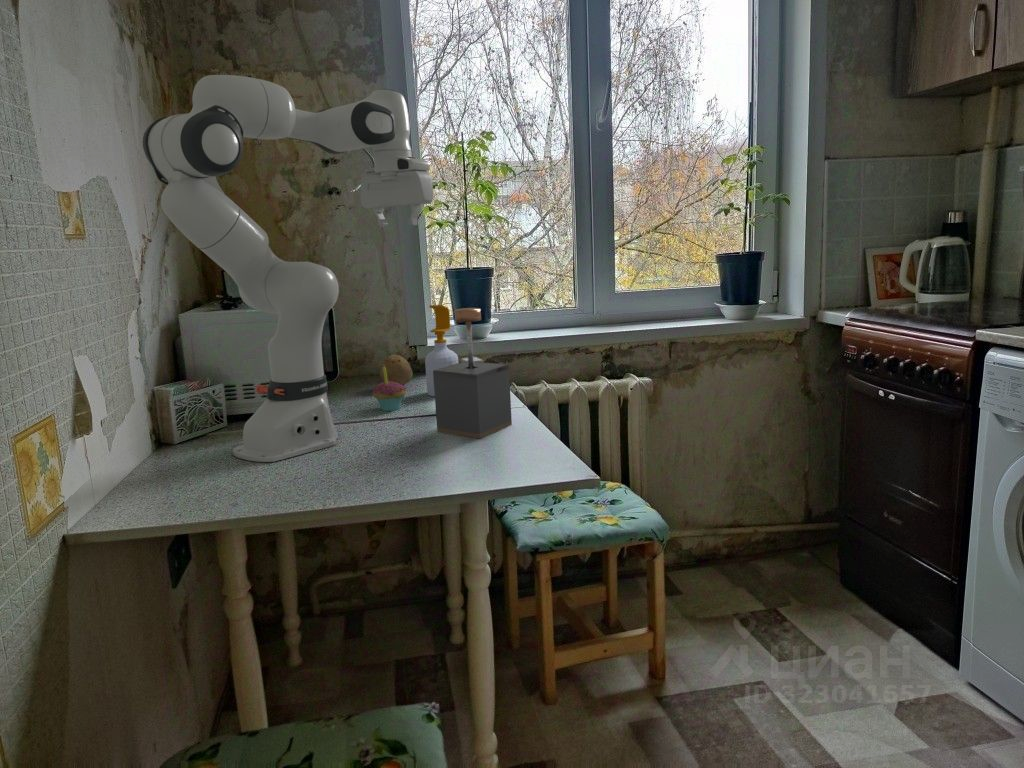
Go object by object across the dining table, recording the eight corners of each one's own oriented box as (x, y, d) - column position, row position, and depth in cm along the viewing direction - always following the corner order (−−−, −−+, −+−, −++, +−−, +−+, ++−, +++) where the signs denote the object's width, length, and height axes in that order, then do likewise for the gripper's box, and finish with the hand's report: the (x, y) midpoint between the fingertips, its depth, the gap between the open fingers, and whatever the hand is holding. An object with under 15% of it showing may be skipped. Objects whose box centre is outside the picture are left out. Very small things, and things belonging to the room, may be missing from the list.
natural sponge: (374, 390, 203) (370, 356, 201) (396, 384, 210) (393, 351, 207) (396, 393, 197) (393, 358, 195) (418, 387, 204) (415, 353, 202)
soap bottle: (422, 396, 192) (415, 306, 187) (435, 389, 200) (429, 302, 195) (453, 397, 189) (446, 306, 184) (465, 390, 198) (459, 302, 192)
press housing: (480, 438, 151) (476, 374, 148) (437, 431, 158) (432, 370, 155) (511, 424, 161) (508, 364, 158) (470, 418, 168) (466, 360, 164)
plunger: (475, 383, 150) (471, 312, 147) (441, 379, 156) (436, 311, 152) (501, 374, 158) (498, 307, 155) (468, 371, 163) (464, 306, 160)
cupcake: (401, 413, 176) (397, 365, 173) (368, 413, 177) (364, 366, 175) (411, 404, 184) (407, 359, 182) (380, 404, 186) (376, 359, 183)
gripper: (351, 168, 168) (357, 228, 170) (417, 160, 156) (421, 224, 159) (370, 169, 173) (375, 227, 176) (435, 162, 161) (439, 224, 164)
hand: (398, 226), depth 167 cm, fingers open, 8 cm apart
